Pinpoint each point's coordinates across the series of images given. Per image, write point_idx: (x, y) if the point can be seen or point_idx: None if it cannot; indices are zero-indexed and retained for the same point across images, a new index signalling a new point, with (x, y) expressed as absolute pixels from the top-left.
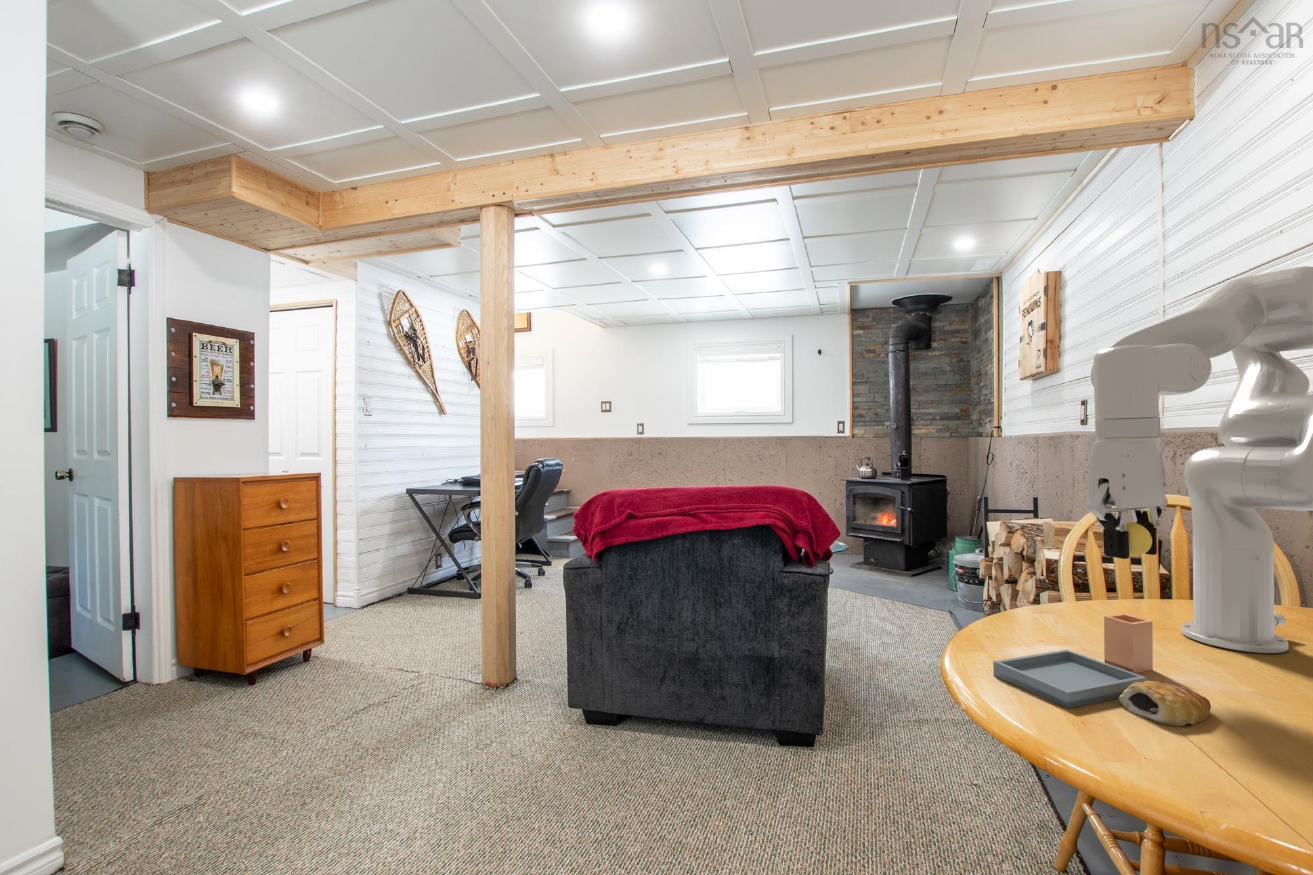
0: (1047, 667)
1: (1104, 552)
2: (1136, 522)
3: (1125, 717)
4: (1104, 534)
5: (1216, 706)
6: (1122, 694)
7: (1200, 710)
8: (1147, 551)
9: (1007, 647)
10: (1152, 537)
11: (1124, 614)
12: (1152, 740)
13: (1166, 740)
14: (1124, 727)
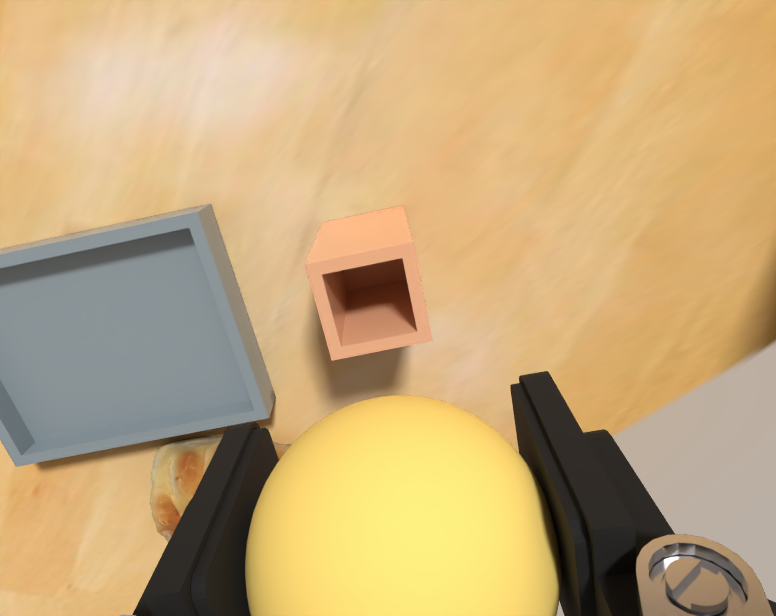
0: (96, 272)
1: (227, 433)
2: (613, 611)
3: (137, 482)
4: (176, 547)
5: None
6: (153, 465)
7: None
8: None
9: (91, 33)
10: (561, 605)
11: (405, 254)
12: (123, 549)
13: (148, 551)
14: (106, 511)
